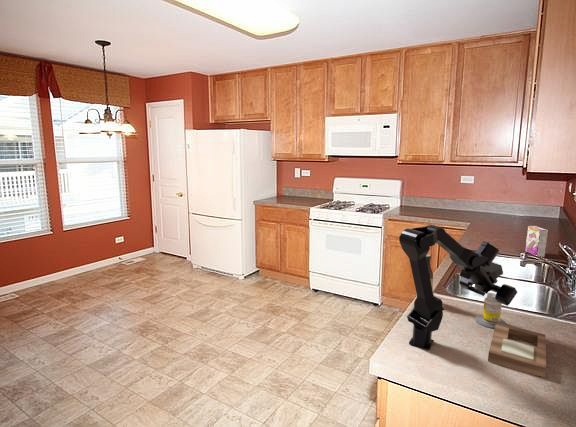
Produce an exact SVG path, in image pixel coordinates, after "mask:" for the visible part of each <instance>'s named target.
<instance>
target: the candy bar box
mask: <svg viewBox="0 0 576 427" xmlns="http://www.w3.org/2000/svg"><path fill="white" fill-rule="evenodd" d="M526 233H527V234H526V241H525V249H524V252H525V251H526V252H529V253H531V254H533V255H537V256H542V258H545V257H546V251H547V244H548V241H547V240H548V235H549V230H548V229H545V228H542V227H539V226H537V225H528V226H527V232H526ZM526 252H525V253H526ZM531 254H530V255H531ZM533 255H532V256H533Z"/></svg>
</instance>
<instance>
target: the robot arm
mask: <svg viewBox="0 0 576 427" xmlns="http://www.w3.org/2000/svg"><path fill="white" fill-rule="evenodd" d="M398 240H399V244H400V246H401V249H402V251H403V252H404V254H406V256H407V257H408V259H409V264H410V269H411V272H412V273H411V274H412V279H413V283H414V287H415V294H416V293H417V297H415V300H414V302H413V307H412V309H411V310H410V312H409V313H408V314H407V316H406V318H407V322H409V323H411V324H413V328H412V337H411V338H410V340H409V341H408V344H409V345H411V346H414V347H418V348H421V349H424V350H427V351H430V350H431V348H432V346H433V345H434V343H435V340H434V339H432V334H433V332H435V331H438V330H439V328H440V326H441V323H442V320H443V317H444V312H443V311H445V309H444V306H443V300H442V298H439V297H437V296H435V295H434V290H432V285H431V280H430V275H429V269H428V264H427V259H426V256H427V254H429V252H430V249H431V247H433V246H435V245H436V244H437V245H438V246H439V247H441V248H442V249H443V250H444V251H446V252H447V253H448V255H449V259H451V261H452V262H453V264H455V265H457V266H460V267H462V269H461V271H460V273H459V277H461V278H460V279H459V281H458V283H459V285H460V287H462V288H464V289H466V290H468V291H471V292H473V293H475V294H477V295H479V296H482V297H484V296H486V295H487V294H488V293H490V292H492V293H496V295H495V299H496V300H497V302H499V303H502V305H504V306H507V307H508V306H509V305H510V304H511V303H512V301H513V300H514V299H515V297H516V295H517V294H518V290H517V289H516V287H514V286H512V285H509V284H506V283H504V284H502V285H501V286H500V285H497V282H498V278H499V277H501V276H502V275H503V274H504V271H503V266H502V265H501V264H499V263H495V262H493V261H494V260H495V259H496V257H497V256H498V255H499V253H500V250H499V248H497V247H495V245H493V244H491V243H490V242H489V241H485V240H483V241H482V242H481V244H480V245H479V247H478V248H477V250H476V251H473V250H472V249H469V248H467V247H464V246H462V244H460V243H459V242H458V241H457V240H456V239H454V237H453V236H452V235H450V234H449V233H448V232H446V230H445V229H444V228H443V226H438V225H435V224H428V225H426V226H419V227H413V228H404V229H403V230H402V231H401V233H400V234H399V237H398Z"/></svg>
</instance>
